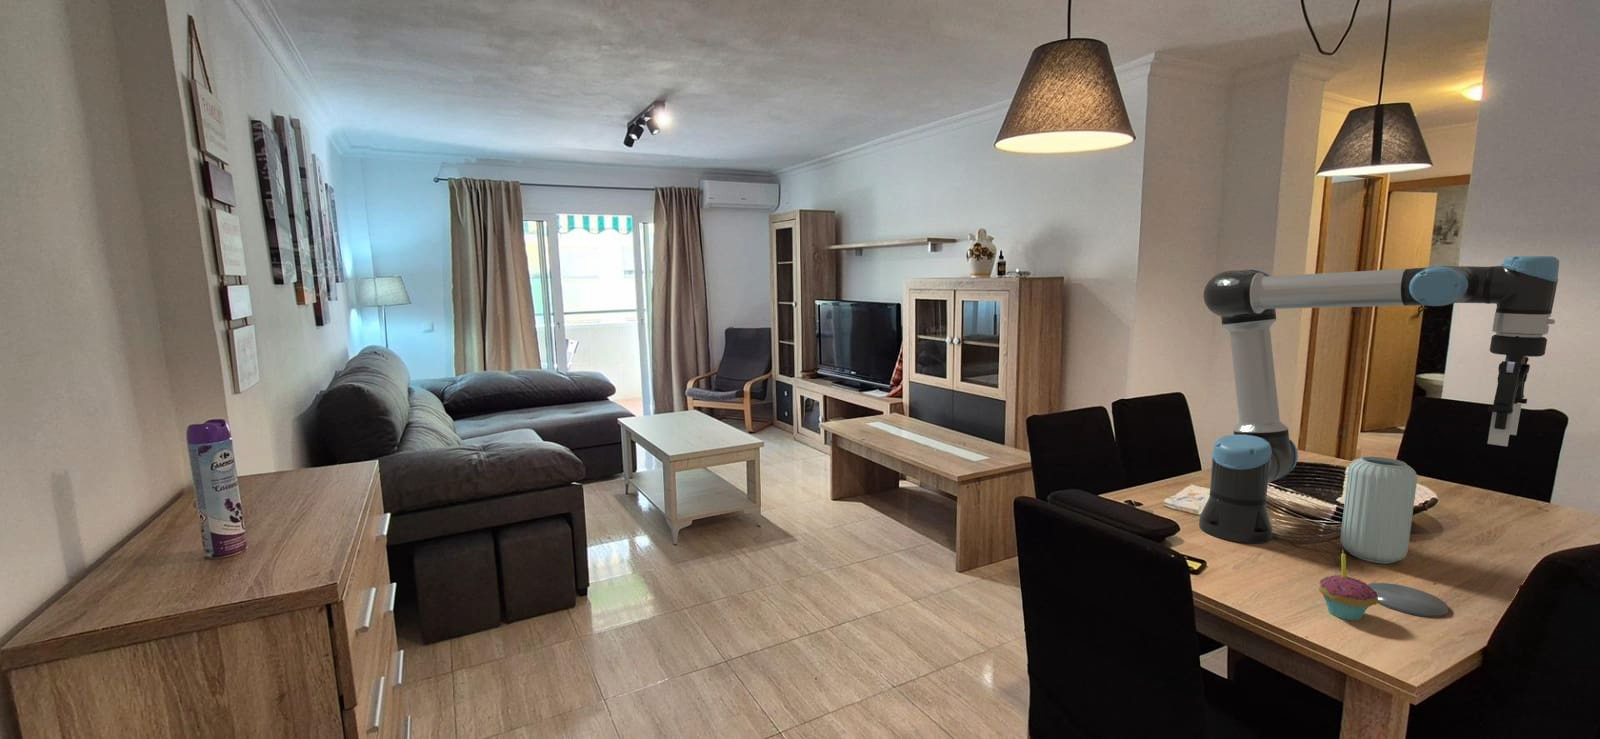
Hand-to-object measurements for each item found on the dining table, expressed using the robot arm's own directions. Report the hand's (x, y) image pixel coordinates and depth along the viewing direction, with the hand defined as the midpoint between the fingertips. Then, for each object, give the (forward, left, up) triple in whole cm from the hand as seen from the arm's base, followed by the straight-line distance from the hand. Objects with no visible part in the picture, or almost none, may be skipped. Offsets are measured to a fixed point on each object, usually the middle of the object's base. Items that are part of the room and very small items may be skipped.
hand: (1502, 439), depth 135 cm
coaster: (-16, -20, -30) cm, 40 cm away
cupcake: (-27, -32, -30) cm, 52 cm away
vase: (-17, +3, -30) cm, 35 cm away
